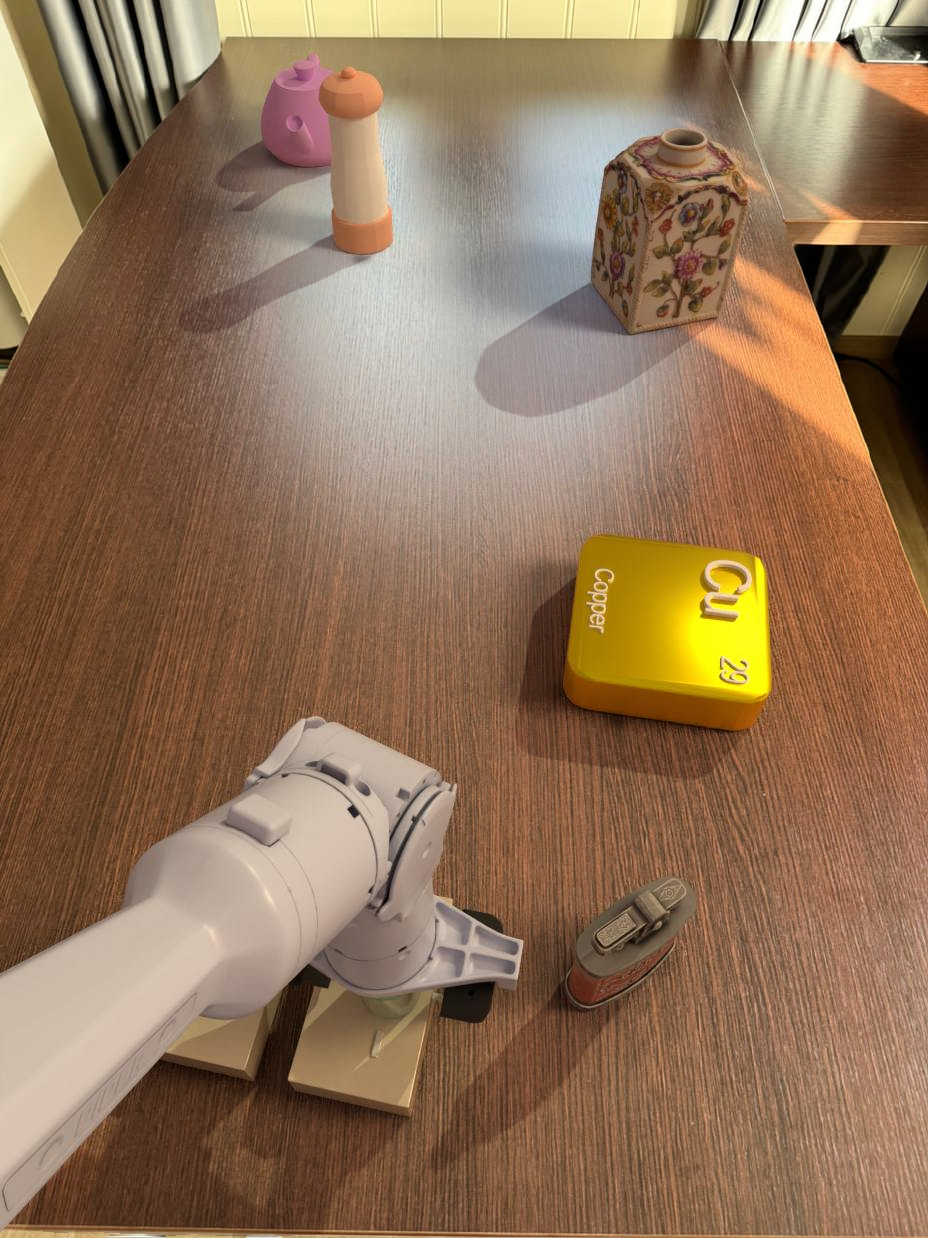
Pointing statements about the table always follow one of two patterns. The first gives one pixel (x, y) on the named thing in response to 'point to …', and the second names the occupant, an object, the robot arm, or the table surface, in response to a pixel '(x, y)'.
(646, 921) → the lighter
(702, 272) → the decorative jar
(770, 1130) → the table surface
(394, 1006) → the knob
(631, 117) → the table surface
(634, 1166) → the table surface
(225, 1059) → the tan base plate
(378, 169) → the pepper shaker
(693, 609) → the element tile
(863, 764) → the table surface
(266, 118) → the teapot
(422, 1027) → the dial knob base
